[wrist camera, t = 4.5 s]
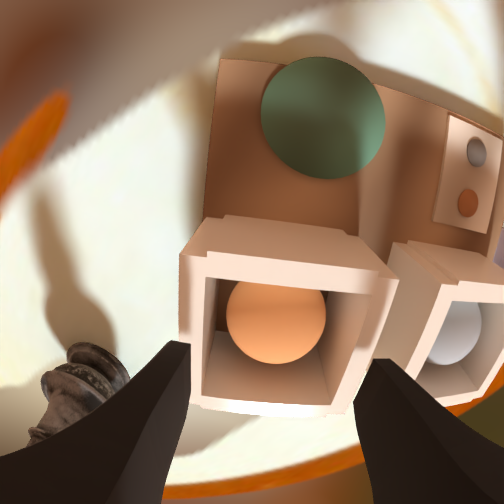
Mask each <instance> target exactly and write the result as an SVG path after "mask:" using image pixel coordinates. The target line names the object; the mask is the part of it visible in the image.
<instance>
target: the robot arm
mask: <svg viewBox="0 0 504 504" xmlns="http://www.w3.org/2000/svg"><path fill="white" fill-rule="evenodd" d="M492 262H494V263H495V264H497V265H498V266H500V267H501V268H503V269H504V227H502V229H501V233H500V237H499V241H498V244H497V248H496V251H495V254H494V258H493V261H492ZM190 395H191V344H190V343H184V342H178V341H172V340H171V341H169V342H168V343H167V344H166V345H165V346H164V347H163V348H162V349H161V350H160V351H159V352H158V353H157V354H156V355H155V356H154V357H153V358H152V359H151V361H150V362H149V363H148V364H147V365H146V366H145V367H144V368H142V369H141V370H140V371H139V372H138V373H137V374H136V375H135V376H134V377H133V378H132V379H131V380H130V381H129V382H128V383H126V384H125V385H124V386H123V387H122V388H121V389H119V390H118V391H117V392H116V393H115V394H113V395H112V396H111V397H110V398H109V399H107V400H106V401H105V402H104V403H102V404H101V405H100V406H98V407H97V408H96V409H94V410H93V411H91V412H90V413H89V414H87V415H86V416H84V417H83V418H81V419H80V420H78V421H76V422H75V423H73V424H72V425H70V426H68V427H66V428H65V429H63V430H61V431H59V432H58V433H56V434H54V435H52V436H50V437H48V438H46V439H44V440H42V441H40V442H37V443H35V444H33V445H30V446H28V447H26V448H23V449H20V450H18V451H15V452H13V453H10V454H7V455H4V456H0V504H161V501H162V495H163V490H164V486H165V482H166V478H167V475H168V472H169V468H170V465H171V462H172V459H173V456H174V453H175V450H176V447H177V444H178V441H179V437H180V435H181V432H182V429H183V426H184V422H185V419H186V415H187V410H188V405H189V400H190ZM353 405H354V414H355V421H356V428H357V432H358V436H359V440H360V444H361V447H362V451H363V455H364V458H365V462H366V466H367V470H368V474H369V477H370V481H371V486H372V492H373V500H374V504H504V448H503V447H501V446H499V445H497V444H495V443H494V442H492V441H490V440H488V439H487V438H485V437H483V436H482V435H480V434H479V433H477V432H476V431H474V430H473V429H472V428H470V427H469V426H467V425H466V424H465V423H463V422H462V421H461V420H459V419H458V418H457V417H456V416H454V415H453V414H452V413H451V412H449V411H448V410H447V409H446V408H445V407H443V406H442V405H441V404H440V403H439V402H438V401H437V400H435V399H434V398H433V397H432V396H431V395H430V394H429V393H428V392H427V391H426V390H424V389H423V388H422V387H421V386H420V385H419V384H418V383H417V382H416V381H415V380H414V379H413V378H412V377H410V376H409V375H408V374H407V373H406V372H405V371H404V370H403V369H402V368H401V367H400V366H398V365H397V364H396V363H395V362H394V361H392V360H391V359H390V358H373V360H372V363H371V365H370V367H369V369H368V372H367V374H366V376H365V378H364V380H363V383H362V385H361V387H360V389H359V391H358V393H357V395H356V397H355V399H354V401H353Z"/></svg>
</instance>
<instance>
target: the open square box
mask: <svg viewBox="0 0 504 504" xmlns="http://www.w3.org/2000/svg"><path fill="white" fill-rule="evenodd" d="M387 267H388V268H389V269H390V270H391V271H392V272H393V273H394V274H395V275H396V276H397V278H398V279H399V283H398V286H397V289H396V292H395V295H394V298H393V301H392V304H391V307H390V310H389V313H388V315H387V318H386V321H385V324H384V326H383V329H382V332H381V334H380V337H379V339H378V342H377V344H376V347H375V349H374V352H373V354H372V356H371V359H370V361H369V364H368V366H367V368H366V372H368V369H369V367H370V365H371V363H372V360H373V358H390V359H391V360H392V361H394V362H395V363H396V364H397V365H398V366H400V367H401V368H402V369H403V370H404V371H405V372H406V373H407V374H408V375H409V376H410V377H412V378H413V379H414V380H415V381H416V382H417V383H418V384H419V385H420V386H421V387H422V388H423V389H424V390H426V391H427V392H428V393H429V394H430V395H431V396H432V397H433V398H434V399H435V400H437V401H438V402H439V403H440V404H441V405H442V406H443V407H446V406H451V405H456V404H461V403H466V402H471V401H472V399H474V398H479V397H482V396H483V394H484V393H485V391H486V390H487V388H488V387H489V385H490V383H491V382H492V380H493V379H494V377H495V375H496V374H497V372H498V371H499V369H500V367H501V365H502V364H503V362H504V269H503V268H501V267H500V266H498V265H497V264H495V263H494V262H492V261H491V260H489V259H488V258H486V257H485V256H483V255H481V254H480V253H477V252H472V251H466V250H461V249H456V248H450V247H445V246H439V245H434V244H428V243H422V242H417V241H411V240H408V242H407V244H404V243H397V242H393V244H392V248H391V252H390V256H389V259H388V263H387ZM452 301H464V302H477V303H478V306H479V309H480V312H481V321H482V324H481V331H480V335H479V338H478V340H477V342H476V344H475V346H474V347H473V349H472V350H471V351H470V352H469V353H468V354H467V355H466V356H465V357H464V358H463V359H461V360H459V361H457V362H455V363H452V364H449V365H434V364H431V363H428V362H426V361H425V360H426V358H427V356H428V354H429V352H430V350H431V348H432V346H433V344H434V342H435V340H436V338H437V336H438V333H439V331H440V329H441V327H442V324H443V322H444V320H445V317H446V315H447V312H448V310H449V308H450V305H451V302H452Z"/></svg>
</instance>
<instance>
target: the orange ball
mask: <svg viewBox="0 0 504 504" xmlns="http://www.w3.org/2000/svg"><path fill="white" fill-rule="evenodd" d="M226 320H227V326H228V330H229V333H230V335H231V337H232V339H233V341H234V342H235V344H236V345H237V346H238V347H239V348H240V350H241V351H243V352H244V353H245V354H246V355H248V356H249V357H251V358H253V359H255V360H257V361H260V362H263V363H269V364H283V363H288V362H292V361H294V360H297V359H299V358H301V357H302V356H304V355H305V354H307V353H308V352H309V351H310V350H311V349H312V348H313V347H314V346H315V345H316V343H317V342H318V340H319V339H320V337H321V335H322V332H323V330H324V326H325V322H326V307H325V302H324V299H323V296H322V294H321V292H320V290H316V289H306V288H297V287H288V286H279V285H270V284H261V283H252V282H244V281H239V282H238V284H237V285H236V286H235V288H234V289H233V291H232V293H231V295H230V298H229V301H228V304H227V310H226Z"/></svg>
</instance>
